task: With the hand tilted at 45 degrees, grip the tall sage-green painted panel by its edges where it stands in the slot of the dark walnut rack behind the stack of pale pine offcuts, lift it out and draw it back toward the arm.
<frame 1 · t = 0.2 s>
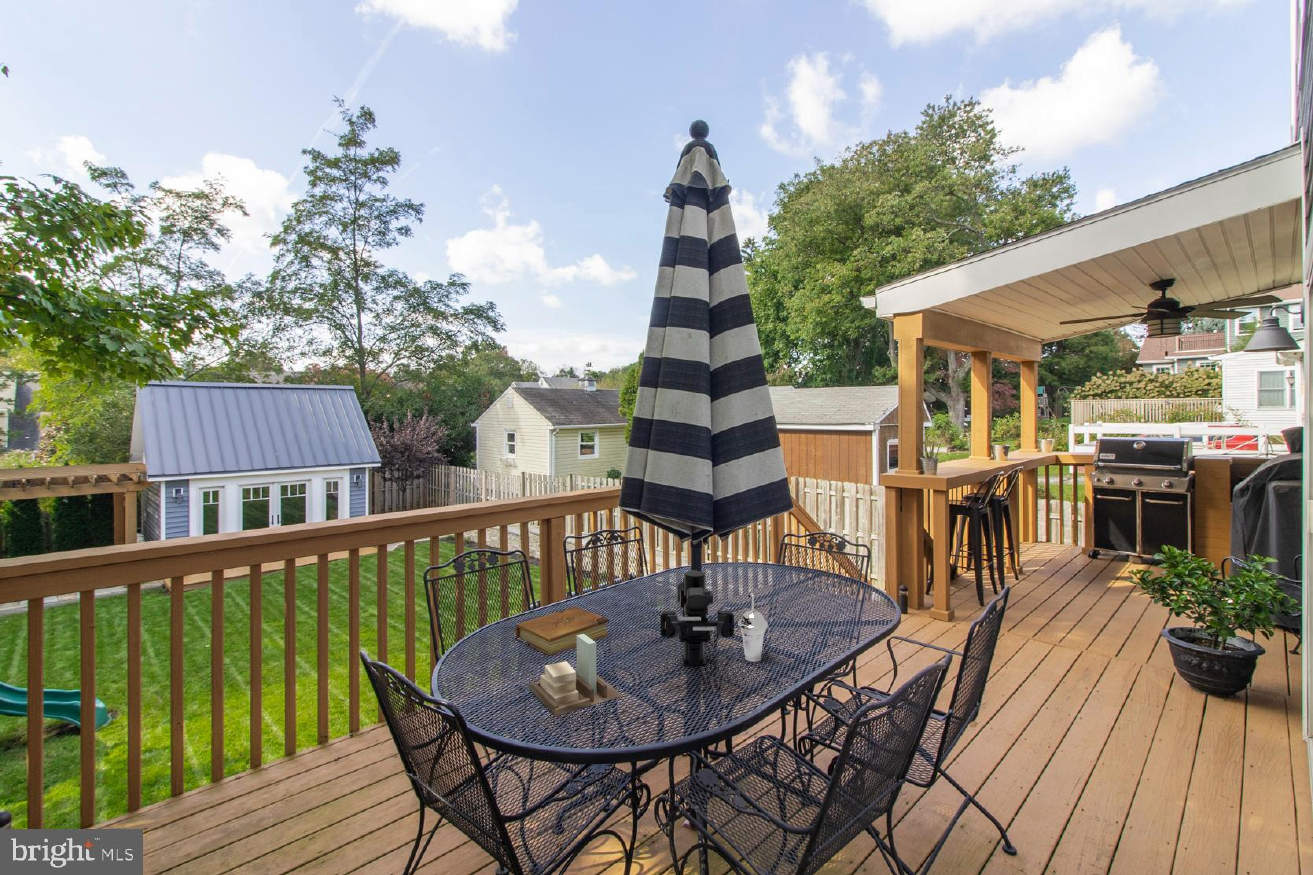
hand: (698, 637, 141), 17 cm above the table, fingers open, 9 cm apart
diary: (562, 639, 185), on the table
cup with straw: (752, 659, 168), on the table
sage panel: (586, 689, 148), point 1 cm above the table, touching walnut rack
walnut rack: (577, 695, 146), on the table
offcut stack: (559, 697, 143), point 1 cm above the table, touching walnut rack
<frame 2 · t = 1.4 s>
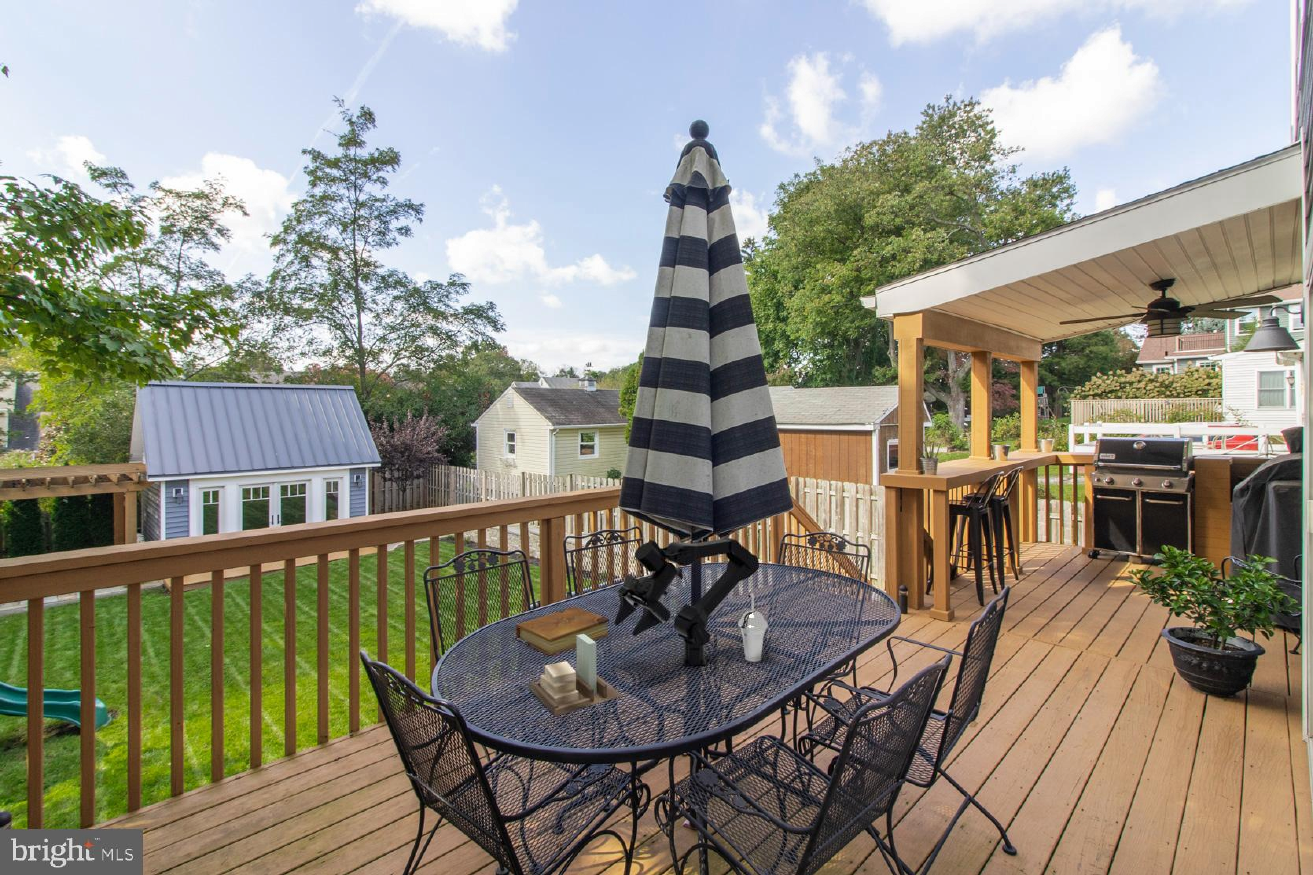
hand: (624, 629, 153), 14 cm above the table, fingers open, 9 cm apart
nothing on the table moved.
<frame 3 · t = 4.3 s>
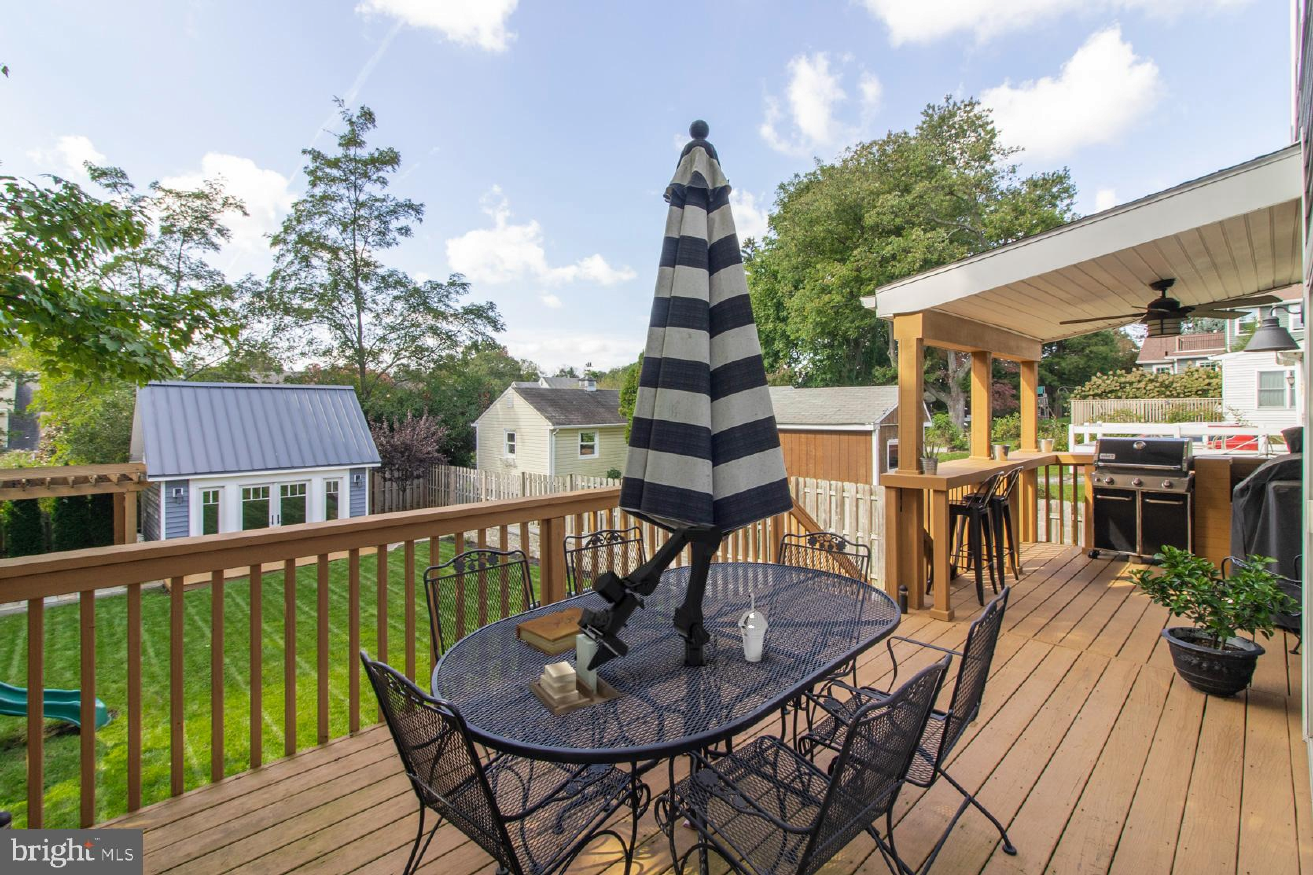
hand: (581, 665, 147), 7 cm above the table, fingers closed on sage panel, 7 cm apart
sage panel: (586, 689, 148), point 1 cm above the table, touching gripper, walnut rack
everything else where it was.
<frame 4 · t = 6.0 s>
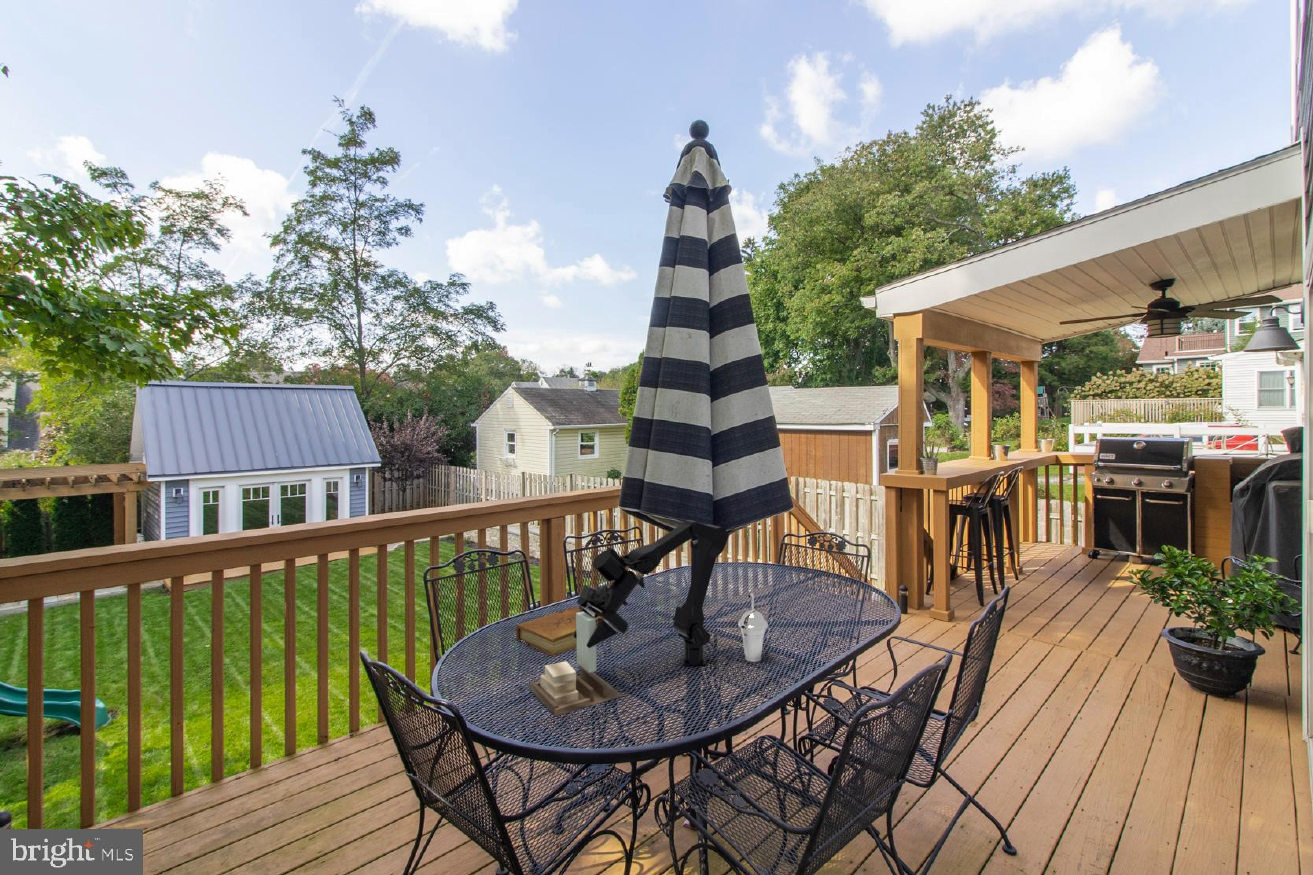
hand: (581, 642, 146), 13 cm above the table, fingers closed on sage panel, 7 cm apart
sage panel: (586, 666, 147), point 7 cm above the table, touching gripper
everything else where it was.
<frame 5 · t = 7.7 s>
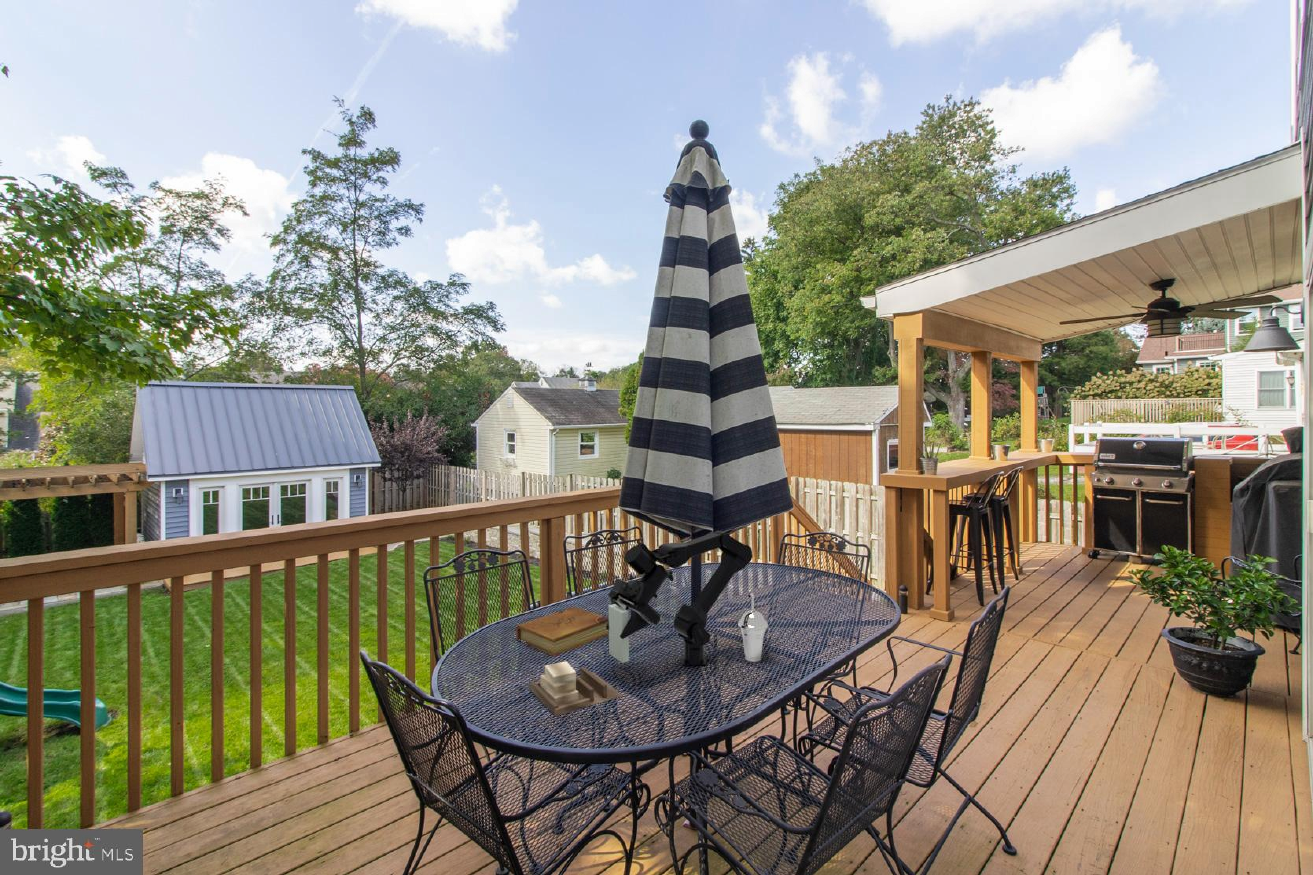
hand: (614, 633, 152), 13 cm above the table, fingers closed on sage panel, 7 cm apart
sage panel: (619, 657, 153), point 7 cm above the table, touching gripper
everything else where it was.
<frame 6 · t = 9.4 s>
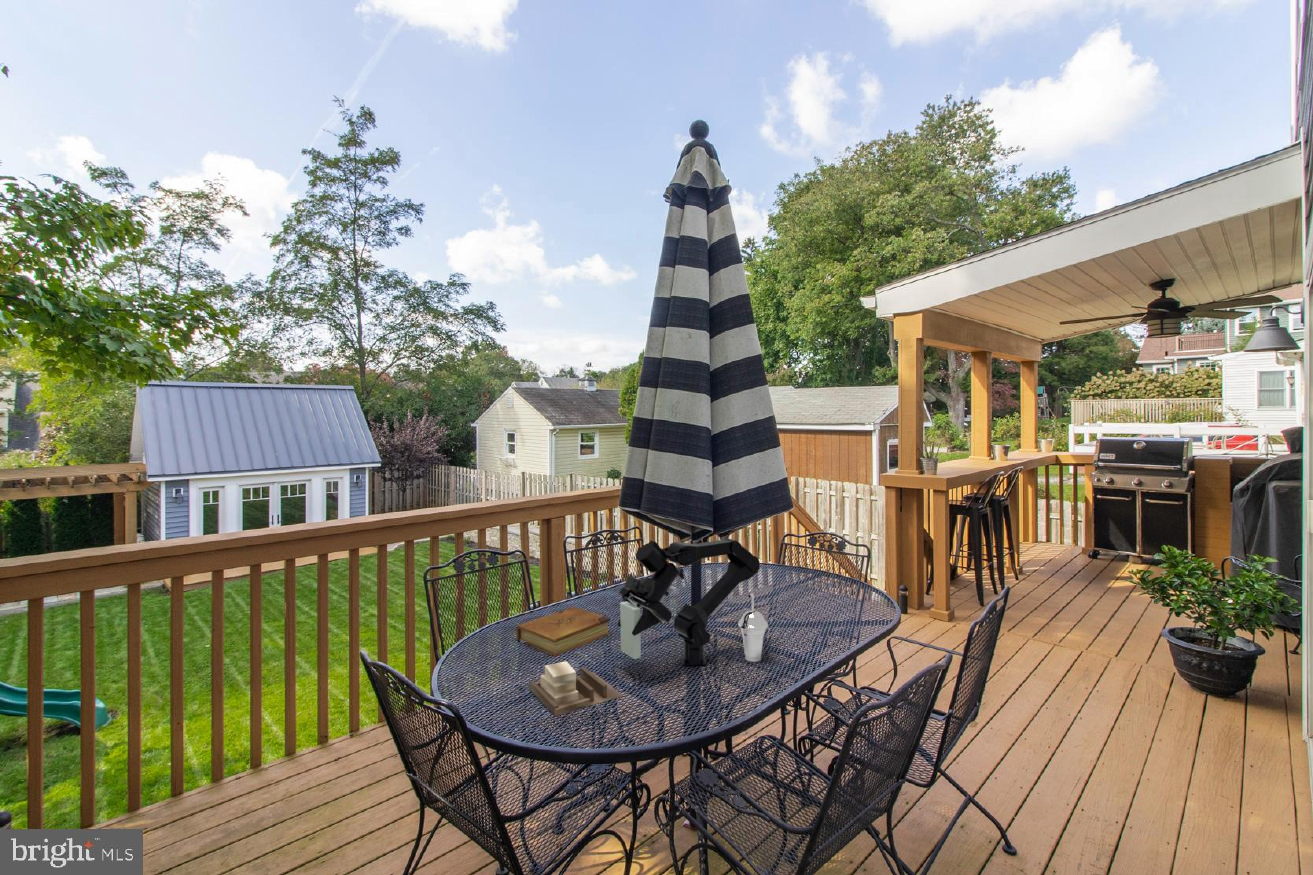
hand: (625, 630, 154), 14 cm above the table, fingers closed on sage panel, 7 cm apart
sage panel: (630, 653, 155), point 7 cm above the table, touching gripper
everything else where it was.
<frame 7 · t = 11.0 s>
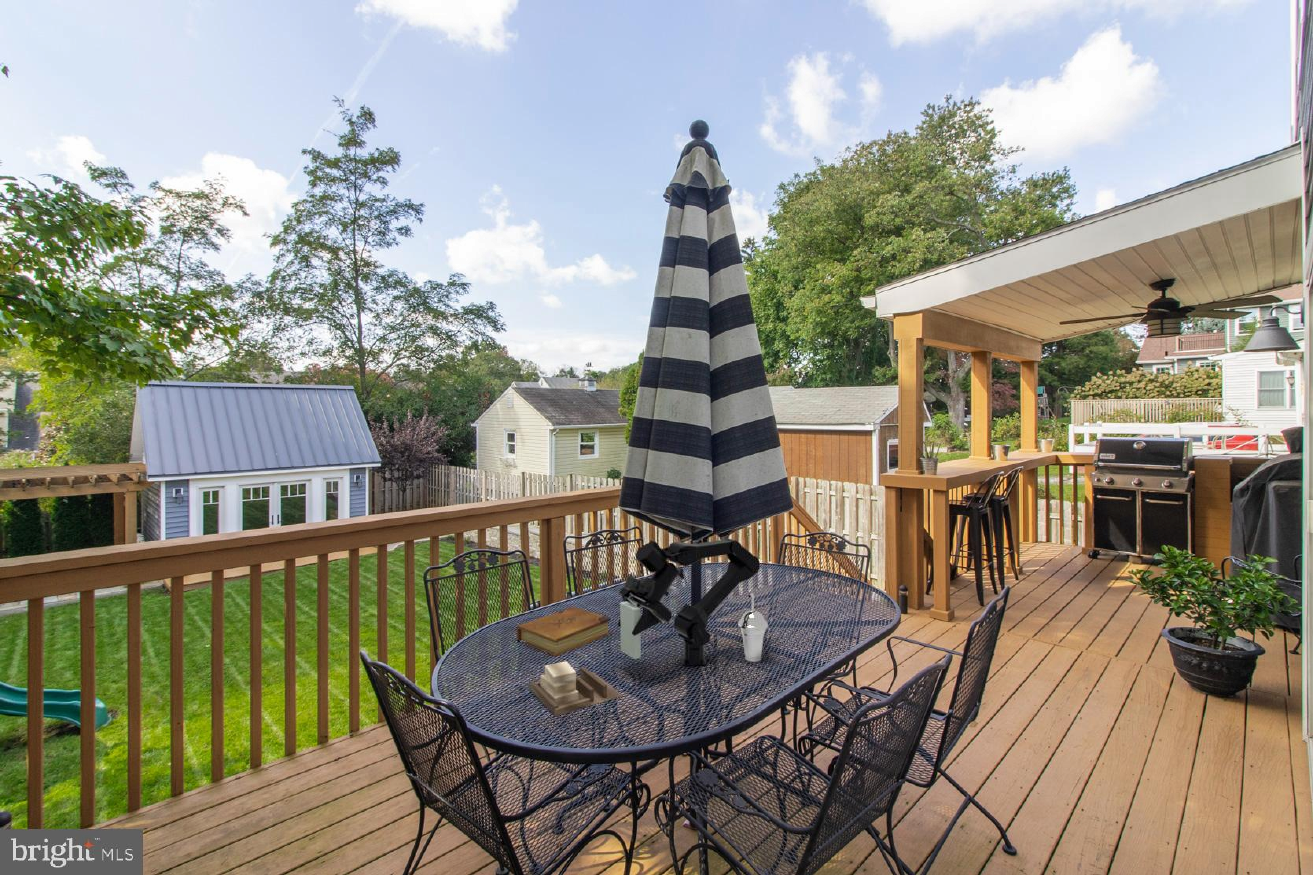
hand: (625, 630, 154), 14 cm above the table, fingers closed on sage panel, 7 cm apart
sage panel: (630, 653, 155), point 7 cm above the table, touching gripper
everything else where it was.
at the end: sage panel point 6.9 cm above the table; sage panel moved 14.4 cm from its start; offcut stack moved 0.0 cm from its start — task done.
